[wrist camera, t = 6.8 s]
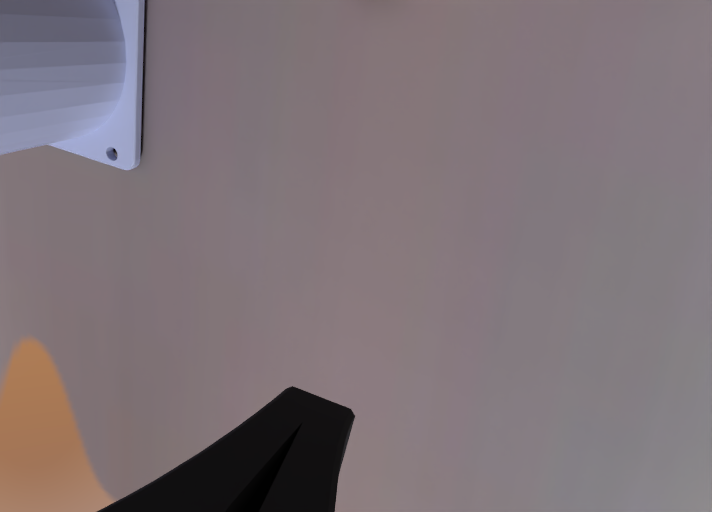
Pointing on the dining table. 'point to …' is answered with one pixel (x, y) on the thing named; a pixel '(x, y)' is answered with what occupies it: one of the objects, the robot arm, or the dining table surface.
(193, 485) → the robot arm
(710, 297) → the dining table surface
